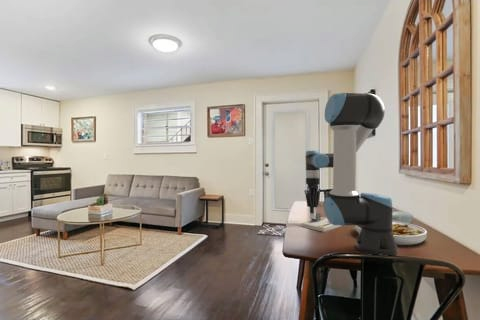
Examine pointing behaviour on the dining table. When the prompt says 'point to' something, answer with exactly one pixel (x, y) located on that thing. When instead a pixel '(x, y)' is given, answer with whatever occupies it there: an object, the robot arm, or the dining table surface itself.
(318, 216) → the tab charcoal
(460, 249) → the dining table surface
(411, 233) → the bowl
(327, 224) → the switch board
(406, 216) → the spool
